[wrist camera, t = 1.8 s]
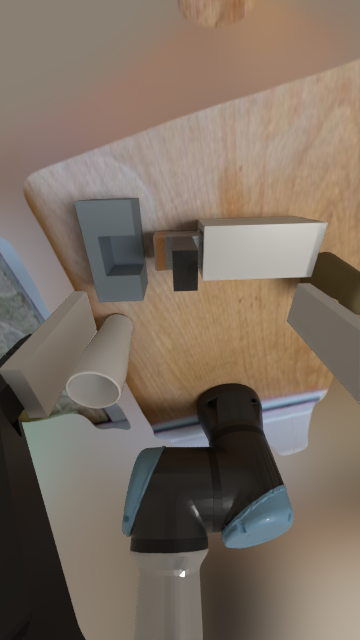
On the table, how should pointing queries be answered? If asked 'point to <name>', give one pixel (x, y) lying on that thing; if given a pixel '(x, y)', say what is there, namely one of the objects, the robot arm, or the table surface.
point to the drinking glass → (103, 365)
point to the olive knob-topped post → (336, 280)
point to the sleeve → (260, 247)
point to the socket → (114, 247)
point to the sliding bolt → (180, 256)
